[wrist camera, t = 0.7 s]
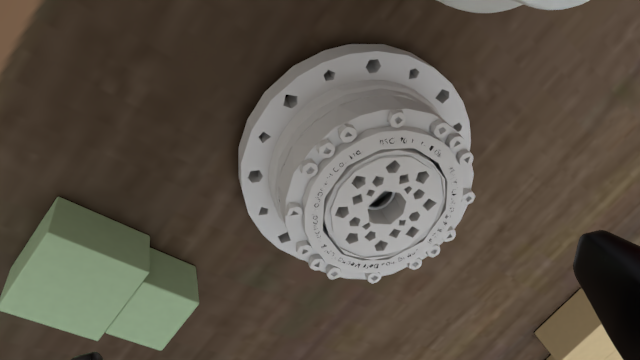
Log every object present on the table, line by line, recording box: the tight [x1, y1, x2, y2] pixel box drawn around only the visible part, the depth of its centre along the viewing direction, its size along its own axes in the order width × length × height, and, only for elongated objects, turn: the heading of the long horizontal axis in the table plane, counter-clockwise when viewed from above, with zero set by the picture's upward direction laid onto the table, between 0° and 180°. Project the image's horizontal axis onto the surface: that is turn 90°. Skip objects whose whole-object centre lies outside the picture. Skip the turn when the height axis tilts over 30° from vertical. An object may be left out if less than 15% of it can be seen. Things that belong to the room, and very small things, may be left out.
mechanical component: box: [238, 44, 475, 284], centre depth 22 cm, size 10×4×10 cm
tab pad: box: [0, 197, 199, 351], centre depth 22 cm, size 7×4×2 cm, turn 51°
